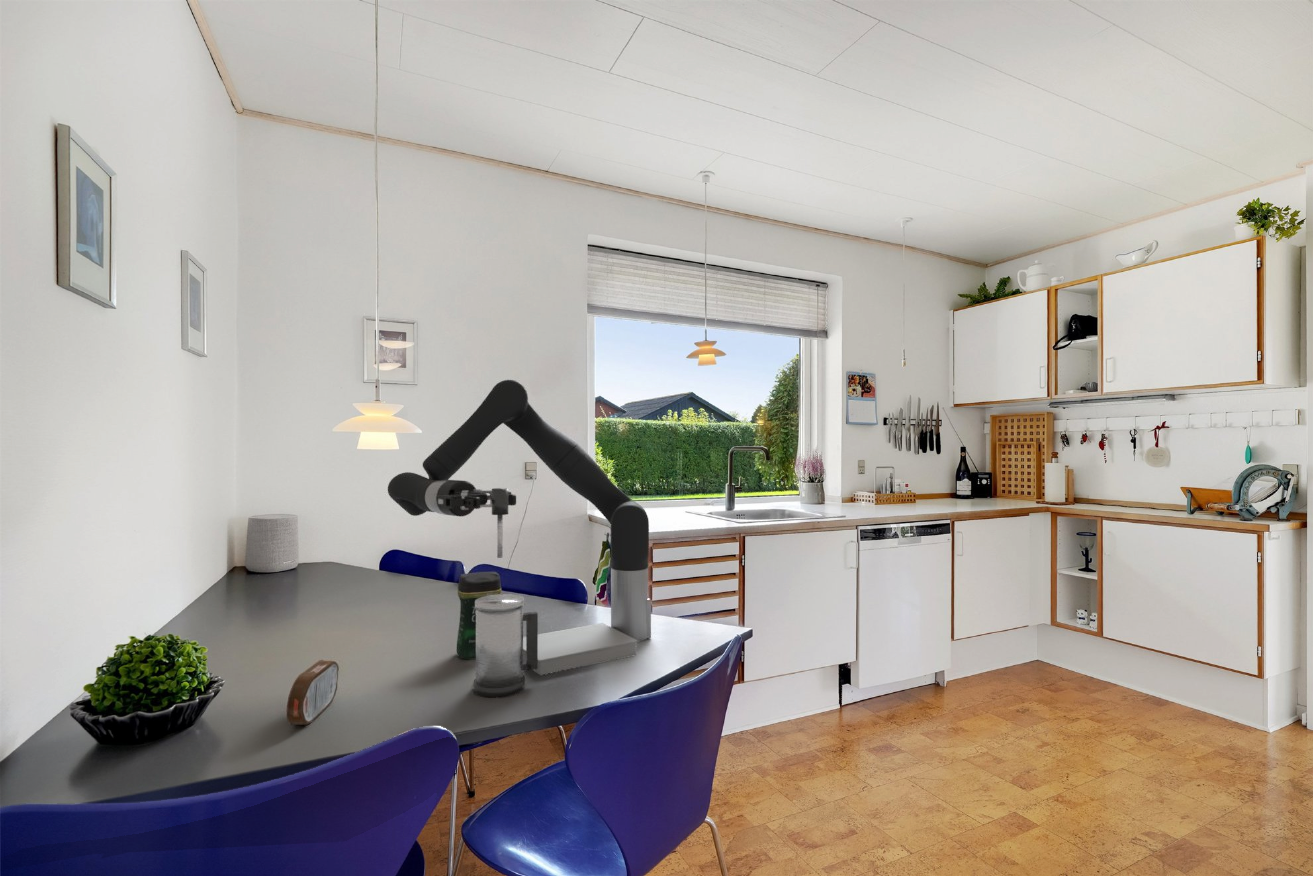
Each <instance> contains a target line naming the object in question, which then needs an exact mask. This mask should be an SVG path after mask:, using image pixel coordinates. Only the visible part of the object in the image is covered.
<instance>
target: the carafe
mask: <svg viewBox="0 0 1313 876" xmlns="http://www.w3.org/2000/svg"><path fill="white" fill-rule="evenodd" d="M524 607H525V597H524V596H522V595H519V594H511V593H510V594H509V593H508V594H507V593H503V594H502V593H500V594H497V595H489V596H484V597H481V598H478V599H476V600H475V609H476V659H475V679H474V680H473V693H474V694H475V695H476V696H479V697H483V698H488V699H489V698H491V699H496V697H499V698H506V697H510V695H511V696H514V695H516V694H515V693H517V694H519V693H520V691H521V692H522V691H524V690H525V688H526V676H525V675H524V671H534V670H533V669H538V634H539V633H538V629H539V627H538V626H539V625H538V624H539V622H538V619H539V618H538V616H539V615H538V612H537V611H531V612H524ZM525 621H526V625H525V626H526V627H525V629H526V630H525V631H526V634H525V637H526V662H523V637H524V622H525ZM513 694H514V695H513ZM505 696H506V697H505Z"/></svg>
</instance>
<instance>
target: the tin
mask: <svg viewBox="0 0 1313 876" xmlns="http://www.w3.org/2000/svg"><path fill="white" fill-rule="evenodd" d="M339 669H340V667H339V664H338V663H337V662H336V661H334V660H324V659H319V660H318V661H317V662H315V663H314V664H312V665H311V666H309V668H307V669H306V670H304V671H303V672H301V673H300V674H299V675H298V676H297V677H296V678H295V680H294V682H293V683H292V686H291V689H290V690H289V691H290V692H289V695H288V699H287V704H286V719H287V722H288V723H289V725H290V726H296V725H297V726H305V725H310V724H311V723H313V721H314V720H315V719H317V718H318V717H319V716H320V715H321V714H322V713H323V712H324V711H326V709H327V708H328V707H329V706H330V705H331V704H332V702H333V701H334V698H335V696H336V693H337V690H338V679H339ZM318 715H319V716H318ZM317 716H318V717H317Z"/></svg>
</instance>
